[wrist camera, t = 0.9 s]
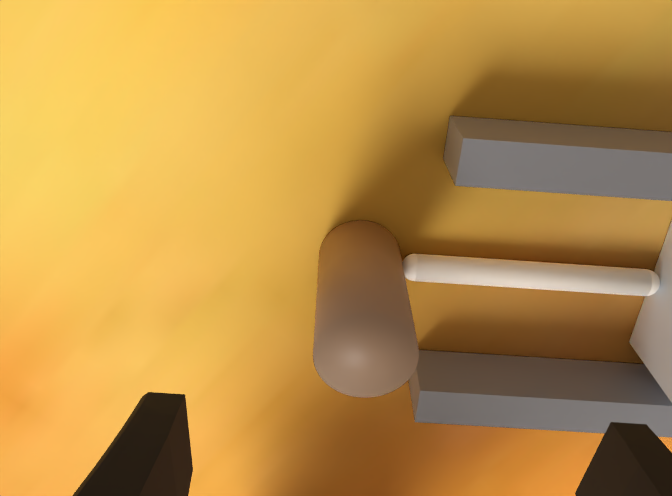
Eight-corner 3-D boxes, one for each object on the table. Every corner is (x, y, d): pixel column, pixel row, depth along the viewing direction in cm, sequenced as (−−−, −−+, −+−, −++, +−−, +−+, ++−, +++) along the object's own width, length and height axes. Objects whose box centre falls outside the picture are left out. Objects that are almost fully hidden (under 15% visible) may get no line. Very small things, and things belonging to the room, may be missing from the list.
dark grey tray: (792, 402, 26) (835, 447, 24) (408, 379, 26) (414, 422, 23) (925, 150, 21) (994, 176, 19) (450, 115, 21) (463, 138, 18)
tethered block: (776, 351, 25) (896, 467, 20) (314, 322, 24) (307, 433, 19) (843, 214, 22) (1003, 305, 17) (324, 178, 22) (319, 259, 16)
